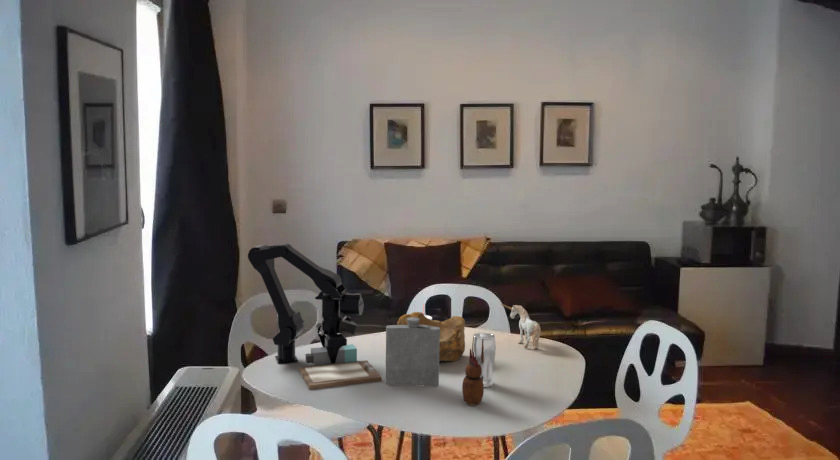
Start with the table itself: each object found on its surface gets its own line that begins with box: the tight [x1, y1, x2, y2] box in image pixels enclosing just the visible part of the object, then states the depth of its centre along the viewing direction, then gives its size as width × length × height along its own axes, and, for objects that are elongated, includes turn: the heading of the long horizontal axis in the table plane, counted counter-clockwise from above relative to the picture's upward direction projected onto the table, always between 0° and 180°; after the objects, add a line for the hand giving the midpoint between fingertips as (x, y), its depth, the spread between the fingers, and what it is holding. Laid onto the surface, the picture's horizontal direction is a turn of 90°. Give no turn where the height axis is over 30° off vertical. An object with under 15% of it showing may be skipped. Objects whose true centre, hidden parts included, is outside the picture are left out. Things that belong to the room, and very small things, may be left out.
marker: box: [305, 343, 358, 366], centre depth 214 cm, size 5×16×5 cm, turn 111°
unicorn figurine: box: [500, 303, 541, 350], centre depth 237 cm, size 7×20×13 cm, turn 34°
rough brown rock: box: [396, 311, 466, 362], centre depth 218 cm, size 23×17×15 cm
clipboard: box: [298, 360, 383, 390], centre depth 203 cm, size 16×22×2 cm
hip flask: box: [385, 317, 440, 387], centre depth 197 cm, size 16×4×20 cm, turn 86°
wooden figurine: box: [461, 348, 485, 406], centre depth 183 cm, size 7×6×15 cm
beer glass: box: [471, 332, 497, 388], centre depth 198 cm, size 7×7×15 cm
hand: (330, 359), depth 215 cm, fingers open, 7 cm apart
